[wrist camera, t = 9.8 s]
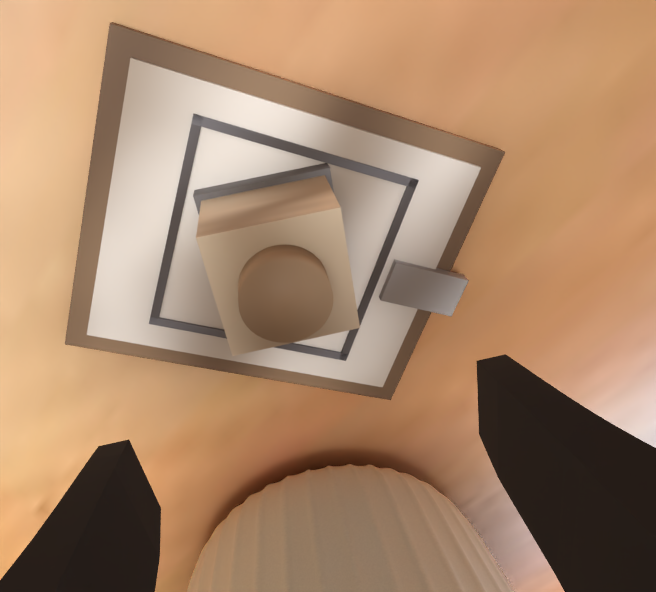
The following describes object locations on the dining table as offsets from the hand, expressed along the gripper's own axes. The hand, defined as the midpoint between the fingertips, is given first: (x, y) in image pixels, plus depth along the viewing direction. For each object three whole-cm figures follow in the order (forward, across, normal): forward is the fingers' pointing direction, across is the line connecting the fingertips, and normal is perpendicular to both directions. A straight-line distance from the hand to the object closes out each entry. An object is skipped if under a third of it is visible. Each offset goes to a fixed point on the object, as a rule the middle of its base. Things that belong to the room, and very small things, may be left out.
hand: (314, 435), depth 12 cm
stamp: (+9, 0, 0) cm, 9 cm away
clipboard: (+10, 0, 0) cm, 10 cm away
